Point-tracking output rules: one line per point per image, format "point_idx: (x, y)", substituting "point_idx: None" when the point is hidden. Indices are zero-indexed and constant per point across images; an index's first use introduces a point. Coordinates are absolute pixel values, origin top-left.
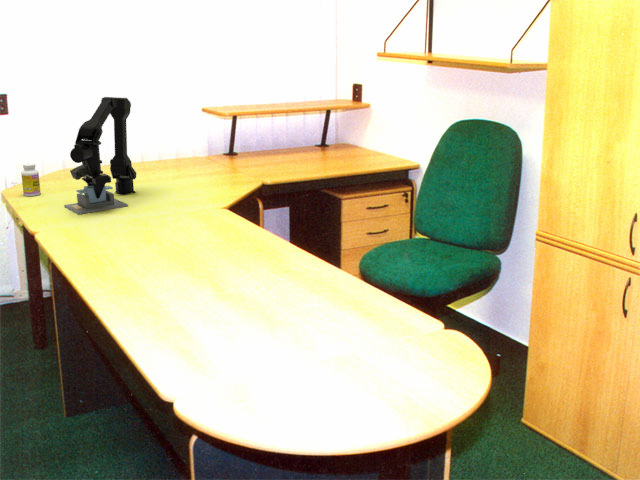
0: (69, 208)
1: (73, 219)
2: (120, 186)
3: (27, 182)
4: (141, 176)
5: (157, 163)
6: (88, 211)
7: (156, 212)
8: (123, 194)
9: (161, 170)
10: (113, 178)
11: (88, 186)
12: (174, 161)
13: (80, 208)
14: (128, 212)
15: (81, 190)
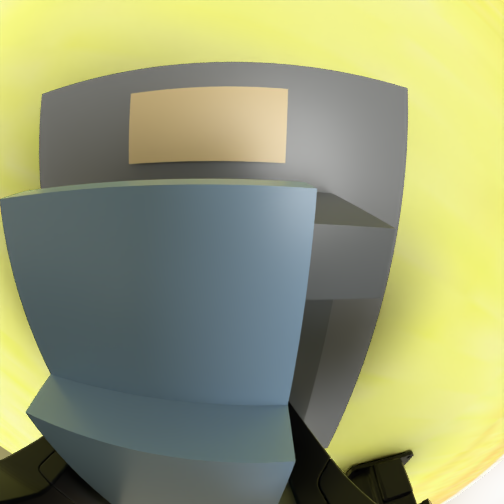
0: (263, 65)
1: (3, 53)
2: (374, 493)
3: None
4: (449, 477)
5: (469, 480)
6: (42, 185)
7: (15, 412)
8: (349, 470)
9: (438, 493)
10: (424, 502)
11: (217, 495)
12: (450, 494)
13: (130, 141)
14: (18, 366)
15: (154, 306)
